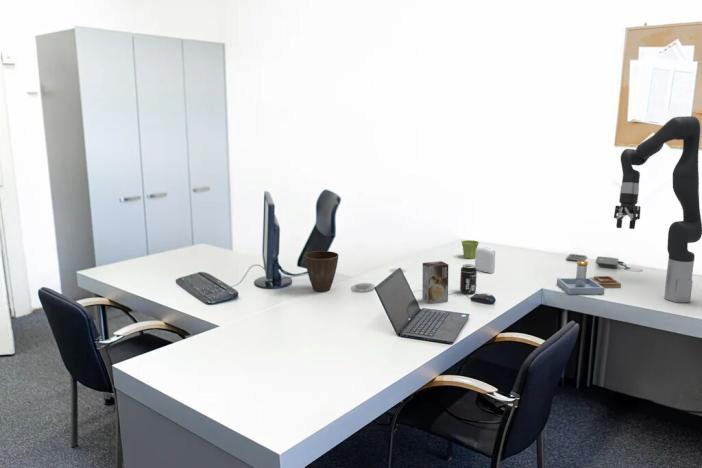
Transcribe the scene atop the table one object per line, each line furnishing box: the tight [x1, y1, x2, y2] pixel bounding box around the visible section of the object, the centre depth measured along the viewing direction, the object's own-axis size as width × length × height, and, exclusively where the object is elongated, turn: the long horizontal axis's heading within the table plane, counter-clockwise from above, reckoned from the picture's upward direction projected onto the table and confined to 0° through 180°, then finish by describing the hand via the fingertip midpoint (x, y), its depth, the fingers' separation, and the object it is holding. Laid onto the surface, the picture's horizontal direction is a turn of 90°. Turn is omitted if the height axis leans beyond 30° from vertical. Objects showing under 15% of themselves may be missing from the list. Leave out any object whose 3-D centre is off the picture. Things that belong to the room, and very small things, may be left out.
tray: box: [556, 277, 606, 296], centre depth 253 cm, size 15×15×3 cm
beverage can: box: [459, 263, 478, 295], centre depth 249 cm, size 7×7×12 cm
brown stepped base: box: [588, 275, 622, 289], centre depth 260 cm, size 10×10×3 cm
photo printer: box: [474, 245, 496, 274], centre depth 282 cm, size 10×4×12 cm, turn 39°
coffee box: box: [421, 260, 449, 304], centre depth 238 cm, size 9×6×16 cm
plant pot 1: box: [304, 250, 339, 293], centre depth 254 cm, size 15×15×16 cm
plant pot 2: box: [460, 239, 480, 260], centre depth 309 cm, size 9×9×9 cm
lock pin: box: [575, 260, 589, 288], centre depth 252 cm, size 4×4×12 cm
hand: (625, 228), depth 262 cm, fingers open, 8 cm apart
